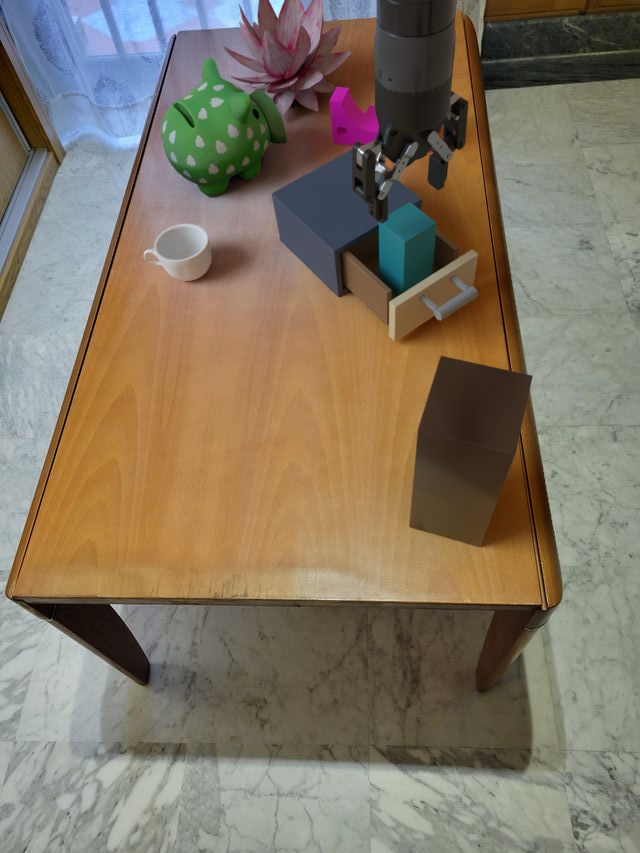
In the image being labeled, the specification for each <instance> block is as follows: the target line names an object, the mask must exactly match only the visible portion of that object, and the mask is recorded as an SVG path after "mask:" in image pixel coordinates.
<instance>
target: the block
mask: <svg viewBox="0 0 640 853" xmlns="http://www.w3.org/2000/svg"><path fill="white" fill-rule="evenodd" d="M436 229H437V222H436V221H435V220H434V219H432V218H431V217H430V216H429V215H427V214H426V213H425V212H424V211H423V210H422V209H421V210H420V209H418V208H417V207H416V206H415V205H413V204H412V203H411V202H409V203H407V204H406V205H404V206H402V207H401V208H399V209H397V210H396V211H394V212H392V213H391V214H389V215H388V220H387V221H386V222H384V223H383V224H381V223H380V222H379V278H380V280H381V281H382V282H383V283H384V284H385V285H387V286H388V287H389V288H390V289H391V290H392V294H393V295H394V296H395V297H398V296H399V295H401V294H402V293H404V292H406V291H407V290H409V289H410V288H412V287H413V286H415V285H417V284H418V283H420V282H421V281H423V280H425V279H426V278H428V277H429V276H431V275H432V269H433V258H434V247H435V236H436Z"/></svg>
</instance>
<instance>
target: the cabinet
mask: <svg viewBox="0 0 640 853" xmlns="http://www.w3.org/2000/svg"><path fill="white" fill-rule="evenodd" d="M383 179H384V176H383V175H381V177H380V179H379V181H378V184H379V185H381V183H382V181H383ZM387 196H388V215H389V214H391V213H392V212H394V211H396V210H397V209H399V208H401V207H402V206H404V205H406V204H407V203H409V202H411V203H412V204H413V205H415V206H416V207H417V208H418V209H420V210H421V211H422V208H423V207H422V206H423V199H422V198H421V196H419V195H418V194H416V192H414V191H412V190H411V189H410V188H409V187H407V186H406V185H405V184H404V183H403V182H401V181H400V180H398V181H396V182H393V184H392V186H391V188H390V190H389V192H388V194H387ZM271 198H272V203H273V204H272V205H273V209H274V214H275V220H276V225H277V229H278V230H277V231H278V235H279V240H280V242H281V243H282V244H283V245H284V246H285V247H286V248H287V249H289V251H290V252H291V253H293V255H294V256H296V257H297V259H299V260H300V261H301V262H302V263H303V264H304V265H305V266H306V267H307V268H308V269H309V270H310V271H311V272H312V273H313V274H314V275H315V276H316V277H317V278H318V279H319V280H320V281H321V282H322V283H323V284H324V285H325V286H326V287H327V288H328V289H329V290H330V291H331V292H332V293H333V294H335V295H336V296H337V297H338V298H340V297H342V296H343V295H344V294H347V293H348V292H350V291H351V290H350V289H348V288H347V287H346V286H345V285H344V284H343V283H342V273H341V262H340V253H341V252H342V251H344V250H346V249H347V248H349V247H351V246H352V245H354V244H356V243H357V242H359V241H361V240H362V239H364V238H366V237H367V236H369V235H371V234H372V233H374V232H376V231H377V230H379V221H377V220H375V219H374V218H373V217H372V216H371V215H370V214H369V210H368V209H369V208H368V206H369V205H368V203H367V202H365V201H364V200H363V199H362V198H361V197H359V196H358V195H357V194H356V193H355V192H353V191H352V148H350V149H349V150H347V151H345V152H344V153H342V154H340V155H338V156H336V157H334V158H332V159H331V160H329V161H327V162H326V163H324V164H322V165H320V166H318V167H316V168H314V169H312V170H311V171H309V172H307V173H305V174H304V175H302V176H300V177H298V178H296V179H295V180H293V181H291V182H289V183H288V184H285V185H284V186H282V187H280V188H278V189H277V190H275V191H273V192H271Z"/></svg>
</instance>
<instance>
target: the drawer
mask: <svg viewBox="0 0 640 853" xmlns="http://www.w3.org/2000/svg"><path fill="white" fill-rule="evenodd" d="M459 254H460V246H459V245H457V244H456V243H455V242H454V241H453V240H451V239H450V238H448V237H447V236H446V235H445V234H443V232H442V231H440V230H438V229H437V228H436V236H435V247H434V258H433V269H432V275H431V276H429V277H428V278H426V279H425V280H423V281H421V282H420V283H418V284H417V285H415V286H413V287H412V288H410V289H409V290H407V291H406V292H404V293H402V294H401V295H399V296H398V297H395V296H394V295H393V294H392V290H391V289H390V288H389V287H388V286H387V285H385V284H384V283H383V282H382V281H381V280H380V278H379V230H377V231H376V232H374V233H372V234H371V235H369V236H367V237H366V238H364V239H362V240H361V241H359V242H357V243H356V244H354V245H352V246H351V247H349V248H347V249H346V250H344V251H342V252H341V253H340V262H341V273H342V283H343V284H344V285H345V286H346V287H347V288H348V289H350V290H349V291H350V292H352V293H353V295H355V296H356V297H357V298H358V299H359V300H360V301H361V302H362V303H363V304H364V305H365V306H366V307H367V309H369V310H370V311H371V312H372V313H373V314H375V315H376V317H378V319H380V320H381V322H383V323H384V324H385V325H386V326H388V337H389V338H390V339H391V340H392V341H393V342H394V343H395V342H397V341H399V340H401V339H402V338H403V337H405V336H406V335H407V334H409V333H411V332H413V331H414V330H415V329H417V328H418V327H419V326H421V325H423V324H424V323H426V322H427V321H429V320H430V319H432V318H434V317H435V319H436V320H437V321H443V320H444V319H446V318H448V317H449V316H451V315H452V314H453V313H454V312H456V311H458V310H459V309H461V308H462V307H464V306H465V305H467V304H469V303H470V302H471V301H473V300H474V299H476V298H478V297H479V292H478V289H477V288H476V287H475V286H474V282H475V277H476V271H477V266H478V260H479V253H478V252H476V251H475V250H474V249H470V250H468V251H466V253H464V254H462V255H461V256H460V255H459Z"/></svg>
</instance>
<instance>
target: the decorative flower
mask: <svg viewBox="0 0 640 853" xmlns="http://www.w3.org/2000/svg"><path fill="white" fill-rule="evenodd" d="M270 1H271V0H258V5H257V14H256V15H257V22H255V21H253V22H252V25H251V23H250V21H249V20H248V19H247V17H246V15H245V13H244V10H243V8H242V6H241V4H240V3H238V7H239V13H240V19H241V21H238V24H239V27H240V33H241V36H242V40H243V42H244V44H245V45H246V47H247V49H248V50H249V52H250V53H251V55H252V56H253V57H254V58H255V59H254V58H252V57H248V56H246V55H243V54H241V53H238V52H236V51H233V50H232V49H230V48H227V47H226V46H223V49H224V51H226V52H227V53H228V55H229V56H230V58H232V59H233V60H235V61H237V62H238V63H239V64H240V65H242V66H244V67H246V68H247V69H249V70H252V71H254V72H256V73H259V74H263V75H259V76H250V77H236V76H233V75H229V74H228V77H230V78H232V79H233V80H235V81H238V82H242V83H246V84H244V87H247V88H252V89H258V88H261V87H266V86H267V87H266V88H265V89H264V90H263V91H264V92H265V93H266V94H267V95H268V96H269V97H270V98H271V99H272V98H273V99H272V101H273V102H274V103H275V105H276V106H277V108H278V110H279V112H280V114H281V116H282V117H283V116H284V115H285V114H286V113H287V112H288V111H289V110H290V108H291V106H292V103H293V102H294V100H296V102H298V104H300V105H301V106H303V107H304V108H306V109H309V110H311V111H314V112H318V111H319V105H318V104H319V103H318V98H317V96H316V95H317V94H316V93H322V94H323V93H324V94H327V93H328V94H329V93H334V91H335V89H336V88H337V86H335V85H334V84H332V82H329V80H327V79H325V78H324V77H326V76H328V75H329V74H331V73H333V72H334V71H335V70H336V69H337V68H338V67H339V66H340V65H341V64H343V63H344V62H345V61H346V60H347V59H348V58H349V56H350V55H351V54H352V50H347V51H340V52H333V50H334V49H335V47H336V45H337V43H338V41H339V37H340V34H341V31H342V29H343V25H342V23H341V24H339V25H337V26H334V27H333V28H331V29H329V30H327V31H326V32H324V33H323V29H324V25H325V22H324V20H325V19H324V17H325V16H324V5H323V0H311V1H310V3H309V4H308V6H307V7H306V9H305V7H304V3H303V1H302V0H283V3H282V6H281V8H280V10H279V13H278V15H277V14H276V11H275V10H274V7H273V5H272V3H271V2H270Z"/></svg>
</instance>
